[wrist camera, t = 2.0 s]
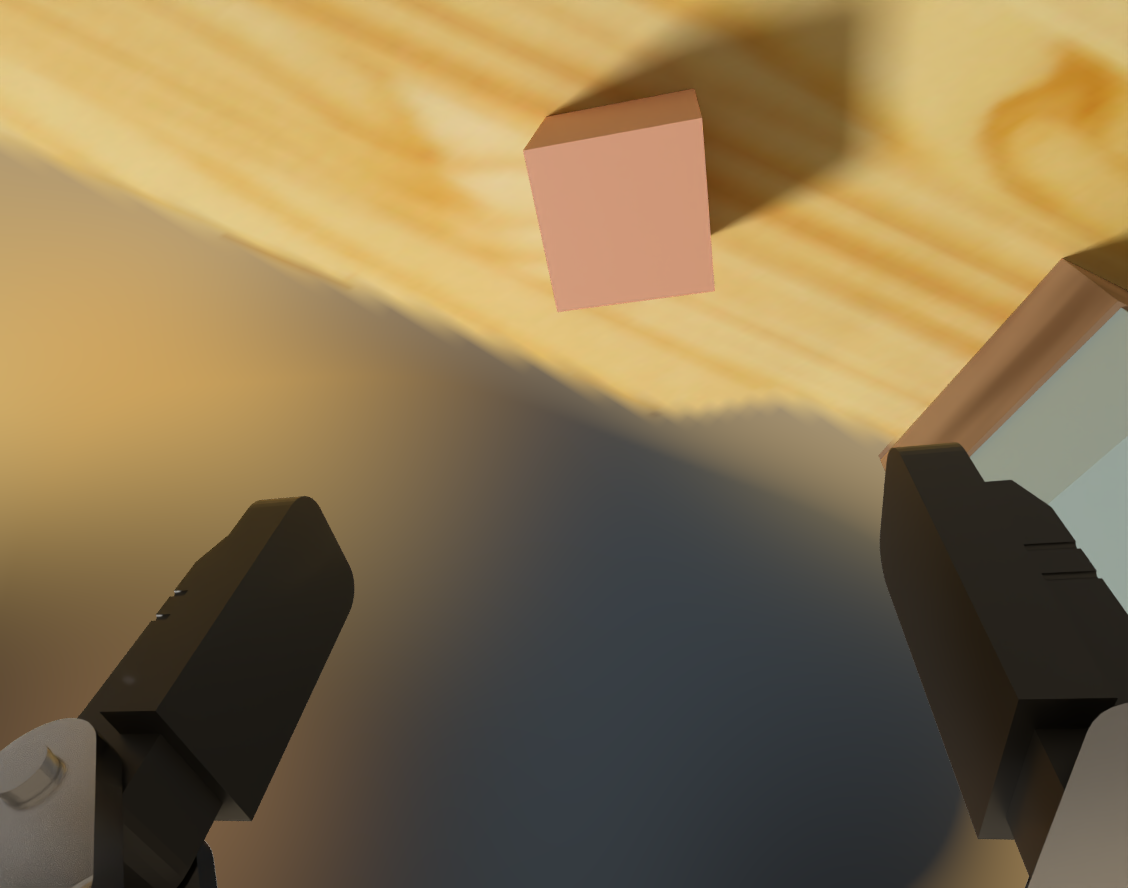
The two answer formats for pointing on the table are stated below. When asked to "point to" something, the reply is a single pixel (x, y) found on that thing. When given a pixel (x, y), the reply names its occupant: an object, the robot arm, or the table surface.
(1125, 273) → the table surface
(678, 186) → the terracotta block
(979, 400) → the tower base block
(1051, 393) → the tower top block
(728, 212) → the table surface
